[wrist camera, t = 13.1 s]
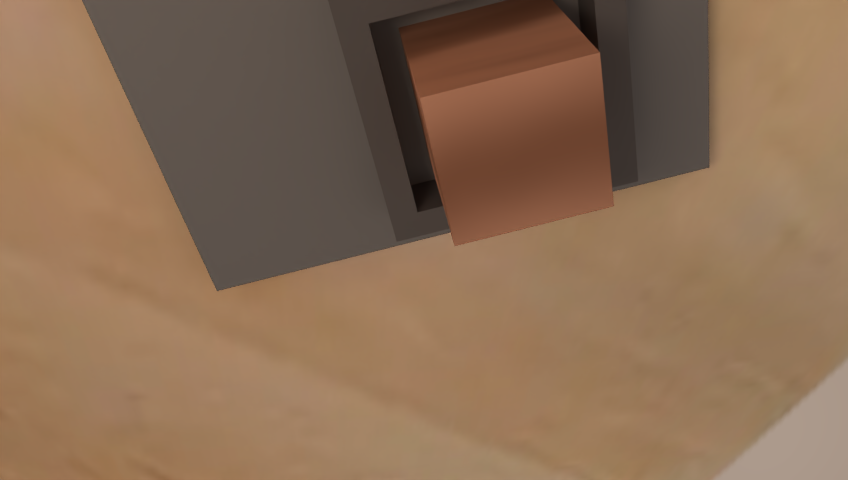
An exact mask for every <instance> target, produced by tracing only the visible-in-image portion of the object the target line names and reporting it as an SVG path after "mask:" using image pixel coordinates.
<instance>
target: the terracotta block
mask: <svg viewBox="0 0 848 480" xmlns="http://www.w3.org/2000/svg"><path fill="white" fill-rule="evenodd" d="M399 32H400V36H401V41H402V45H403V49H404V53H405V57H406V62H407V66H408V70H409V74H410V78H411V83H412V87H413V91H414V95H415V99H416V104H417V108H418V112H419V116H420V120H421V125H422V129H423V133H424V137H425V141H426V146H427V150H428V154H429V158H430V161H431V165H432V168H433V172H434V175H435V179H436V182H437V186H438V189H439V193H440V196H441V200H442V203H443V207H444V210H445V214H446V217H447V221H448V224H449V228H450V231H451V235H452V238H453V242H454V245H455V246H457V245H461V244H465V243H469V242H473V241H477V240H481V239H485V238H489V237H493V236H497V235H501V234H505V233H509V232H513V231H517V230H521V229H525V228H529V227H533V226H537V225H541V224H545V223H548V222H552V221H556V220H560V219H564V218H568V217H572V216H576V215H580V214H584V213H588V212H592V211H596V210H600V209H604V208H608V207H612V206H614V203H613V192H612V180H611V169H610V158H609V147H608V136H607V125H606V114H605V103H604V91H603V80H602V69H601V58H600V52H599V51H598V50H597V49H596V48H595V46H594V45H593V44H592V43H591V42H590V41H589V40H588V39H587V38H586V37H585V35H584V34H583V33H582V32H581V31H580V30H579V29H578V28H577V27H576V26H575V24H574V23H573V22H572V21H571V20H570V19H569V18H568V17H567V16H566V15H565V13H564V12H563V11H562V10H561V9H560V8H559V7H558V6H557V5H556V4H555V2H554V1H553V0H506V1H502V2H498V3H494V4H490V5H486V6H482V7H478V8H474V9H470V10H467V11H463V12H459V13H455V14H451V15H447V16H443V17H439V18H435V19H431V20H427V21H423V22H419V23H415V24H412V25H408V26H404V27H400V28H399Z"/></svg>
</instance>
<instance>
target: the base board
mask: <svg viewBox="0 0 848 480" xmlns="http://www.w3.org/2000/svg"><path fill="white" fill-rule="evenodd" d="M82 1H83V3H84V5H85V8H86V10H87V12H88V14H89V16H90V18H91V20H92V23H93V25H94V27H95V29H96V31H97V33H98V36H99V38H100V40H101V42H102V44H103V46H104V49H105V51H106V53H107V55H108V57H109V59H110V61H111V64H112V66H113V68H114V70H115V72H116V74H117V77H118V79H119V81H120V83H121V85H122V87H123V89H124V92H125V94H126V96H127V98H128V100H129V102H130V105H131V107H132V109H133V111H134V113H135V115H136V117H137V120H138V122H139V124H140V126H141V128H142V130H143V133H144V135H145V137H146V139H147V141H148V143H149V145H150V148H151V150H152V152H153V154H154V156H155V158H156V161H157V163H158V165H159V167H160V169H161V171H162V173H163V176H164V178H165V180H166V182H167V184H168V186H169V189H170V191H171V193H172V195H173V197H174V199H175V202H176V204H177V206H178V208H179V210H180V212H181V214H182V217H183V219H184V221H185V223H186V225H187V227H188V230H189V232H190V234H191V236H192V238H193V240H194V242H195V245H196V247H197V249H198V251H199V253H200V255H201V258H202V260H203V262H204V264H205V266H206V268H207V270H208V273H209V275H210V277H211V279H212V281H213V283H214V286H215V288H216V290H217V291H219V290H223V289H227V288H231V287H235V286H239V285H243V284H247V283H251V282H255V281H259V280H263V279H267V278H270V277H274V276H278V275H282V274H286V273H290V272H294V271H298V270H302V269H306V268H310V267H314V266H318V265H322V264H326V263H330V262H334V261H338V260H342V259H346V258H350V257H354V256H358V255H362V254H366V253H370V252H374V251H378V250H382V249H386V248H390V247H394V246H398V245H402V244H406V243H410V242H414V241H418V240H422V239H426V238H430V237H434V236H438V235H442V234H446V233H450V232H451V231H450V228H449V224H448V221H447V217H446V214H445V210H444V207H443V203H442V200H441V196H440V193H439V189H438V186H437V182H436V179H435V175H434V172H433V168H432V165H431V161H430V158H429V154H428V150H427V146H426V141H425V137H424V133H423V129H422V125H421V120H420V116H419V112H418V108H417V104H416V99H415V95H414V91H413V87H412V83H411V78H410V74H409V70H408V66H407V62H406V57H405V53H404V49H403V45H402V41H401V36H400V32H399V28H400V27H404V26H408V25H412V24H415V23H419V22H423V21H427V20H431V19H435V18H439V17H443V16H447V15H451V14H455V13H459V12H463V11H467V10H470V9H474V8H478V7H482V6H486V5H490V4H494V3H498V2H502V1H506V0H82ZM553 1H554V2H555V4H556V5H557V6H558V7H559V8H560V9H561V10H562V11H563V12H564V13H565V15H566V16H567V17H568V18H569V19H570V20H571V21H572V22H573V23H574V24H575V26H576V27H577V28H578V29H579V30H580V31H581V32H582V33H583V34H584V35H585V37H586V38H587V39H588V40H589V41H590V42H591V43H592V44H593V45H594V46H595V48H596V49H597V50H598V51H599V52H600V58H601V69H602V80H603V91H604V103H605V114H606V125H607V136H608V147H609V158H610V169H611V180H612V192H613V191H617V190H621V189H625V188H629V187H633V186H637V185H641V184H645V183H649V182H653V181H657V180H661V179H665V178H669V177H673V176H677V175H681V174H685V173H689V172H693V171H697V170H701V169H705V168H709V67H708V0H553Z"/></svg>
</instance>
